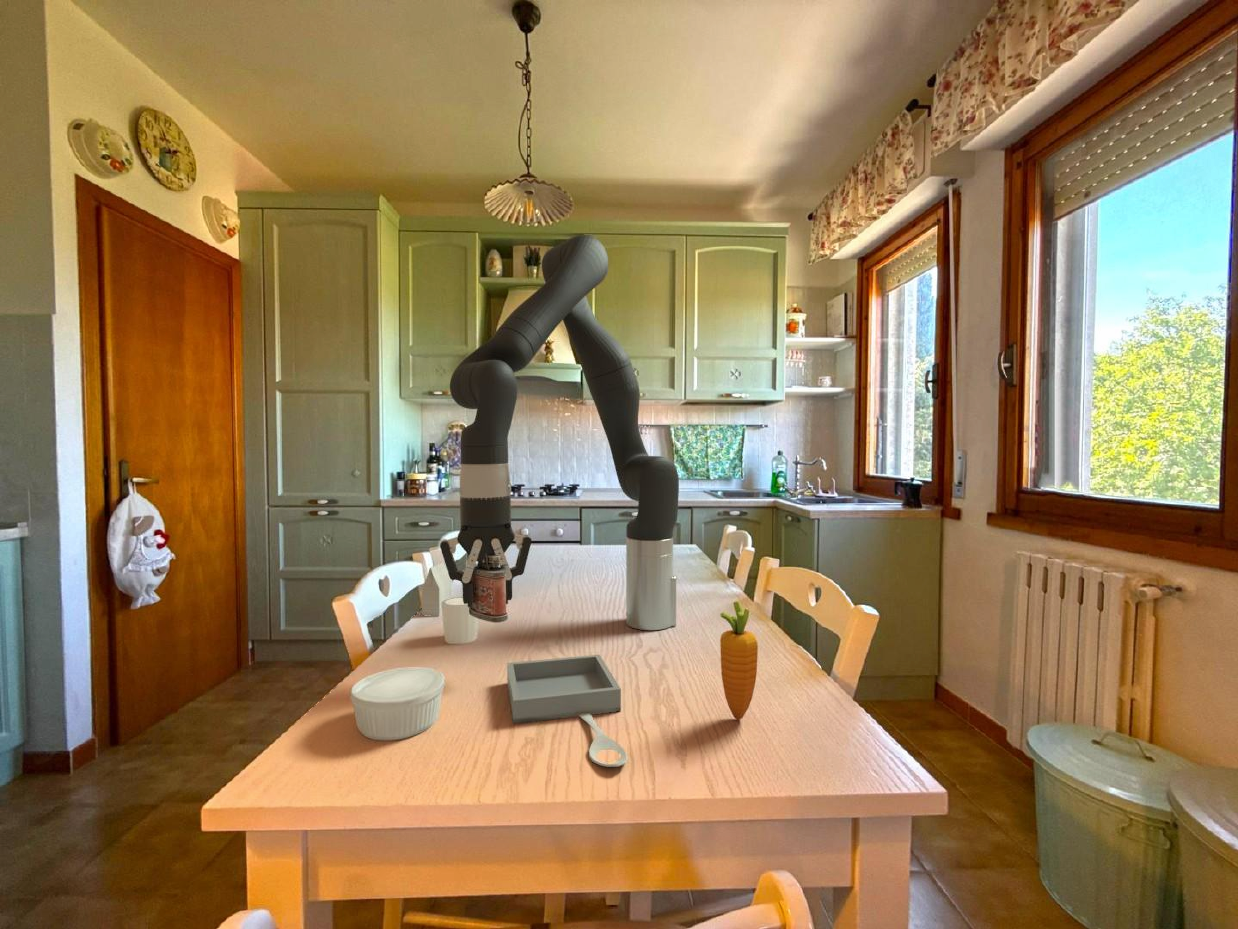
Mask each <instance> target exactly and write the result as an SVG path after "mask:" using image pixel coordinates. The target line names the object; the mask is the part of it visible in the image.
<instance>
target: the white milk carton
mask: <svg viewBox="0 0 1238 929" xmlns="http://www.w3.org/2000/svg"><path fill="white" fill-rule="evenodd" d="M452 581H453V580H451V579H450V577H449V574H448V571H447V567H446V564H445V561H441V562H438V563H437V564H435V565H434V566H431V567H429V568H428V573H427V576H426V578H425V580H424V582H423V585H422V587H421V596H422V597H421V608H422V609H421V616H422V615H431V616H430V617H439V616H440V615H441V614H442V606H441V603H442V601H444V600H446V599H450V598H453V596H452V595H453V593H452V592H453V589H452V588H453V587H452V586H453V582H452ZM441 616H442V615H441ZM441 616H440V617H441Z"/></svg>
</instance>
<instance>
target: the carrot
mask: <svg viewBox="0 0 1238 929" xmlns="http://www.w3.org/2000/svg"><path fill="white" fill-rule="evenodd" d="M733 606H734V607H733V608H734V611H735V615H736V616H735V615H729V614H728V613H726V612H721V613H720V617H721V618H723V619H724V620H725V621H727V623H729V625H730V627H731V629H730V630H726V631H724V632H723V633H722V634H721V635H720V642H719V644H720V669H721V673H720V674H721V680H722V681H721V682H722V687H723V692H724V697H725V701H726V703H727V706H728V709H729V710H730V712H731V714H732V716H733V717H734V719H735V720H736V721H740V720H742V719H743V718H744V717H745V714H746V712H747V711H748V709H749V707H750V705H751V702H752V699H753V696H754V695H753V694H754V691H755V686H756V681H757V670H758V654H759V653H758V652H759V650H758V649H759V648H758V647H759V646H758V640H757V637H756V635H755V634H754V633H753V632H750V631H748V630H745V628H746V626H747V624H748V620H749V615H750V610H749V609H748V608H747V607H746V608H744V609H742V605H741V602H740V601H734V602H733ZM743 610H744V611H743Z"/></svg>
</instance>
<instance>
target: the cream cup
mask: <svg viewBox="0 0 1238 929" xmlns="http://www.w3.org/2000/svg"><path fill="white" fill-rule="evenodd" d="M441 606H442V615H441V617H442V623H443V624H442V625H443V632H444V633H443V635H444V641H445V643H447V644H451V645H462V644H468V643H472V642H474V641H476V640H477V639H476V638H478V630H479V620H480V619H478V618H475V617H473V616H472V615H470V614H469V607H468V604H464V602H463V596H459V597H458V596H457V597H452V598H450V599H446V600H444V601H442V603H441ZM475 639H476V640H475Z"/></svg>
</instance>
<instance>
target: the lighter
mask: <svg viewBox="0 0 1238 929" xmlns="http://www.w3.org/2000/svg"><path fill="white" fill-rule="evenodd" d="M499 562H500V556H496V555H487V554H485V559H484V560H483V561H477V563H476V564H475V567H474V570H473V573H472V576H471V580H472V607H469V614H470V615H472V616H473V617H475V618H478V619H479V620H480V621H481V620H482V621H484V622H489V623H494V624H495V623H503V622H506V621H508V620H509V619H508V616H509V615H508V612H507V604H506V575H507V570H506V569H501V568H500V565H499Z"/></svg>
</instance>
